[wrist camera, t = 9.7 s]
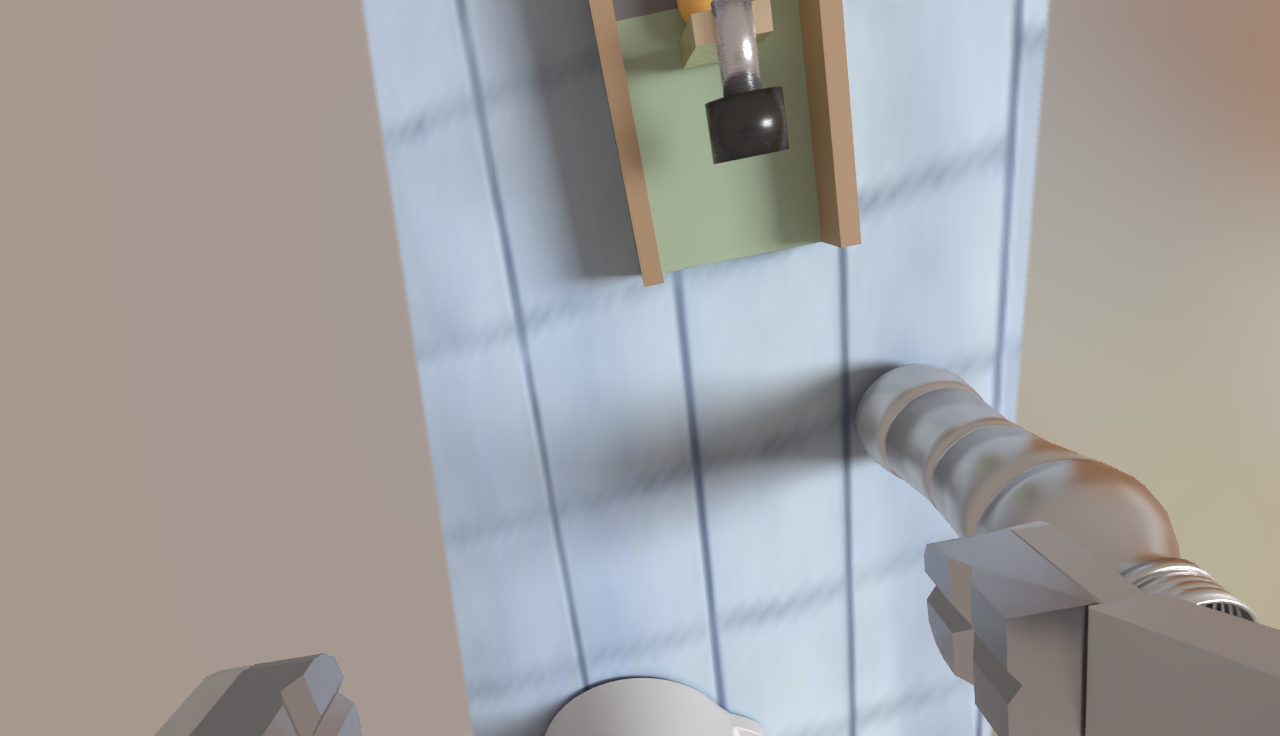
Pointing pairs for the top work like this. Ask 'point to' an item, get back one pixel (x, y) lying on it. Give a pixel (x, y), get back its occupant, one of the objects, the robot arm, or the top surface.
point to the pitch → (680, 144)
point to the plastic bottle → (1024, 482)
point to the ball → (692, 7)
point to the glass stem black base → (737, 78)
